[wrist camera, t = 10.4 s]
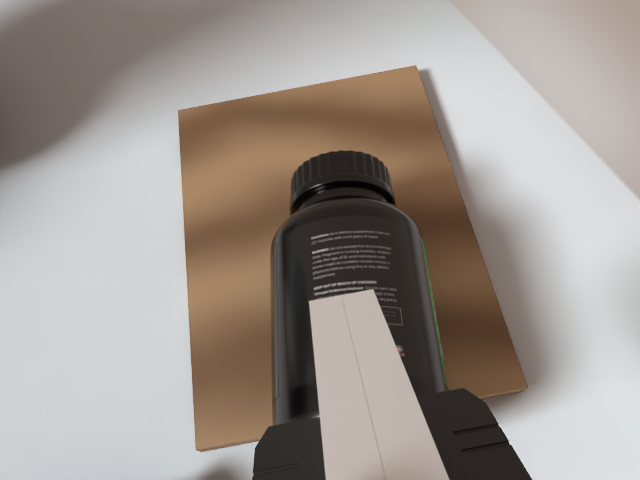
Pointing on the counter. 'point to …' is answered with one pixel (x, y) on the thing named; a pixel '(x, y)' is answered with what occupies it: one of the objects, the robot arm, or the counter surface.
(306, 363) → the supplement bottle
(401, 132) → the cutting board
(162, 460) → the counter surface
